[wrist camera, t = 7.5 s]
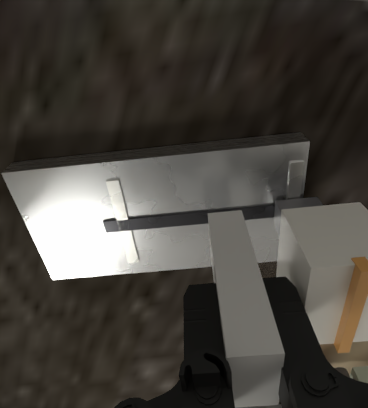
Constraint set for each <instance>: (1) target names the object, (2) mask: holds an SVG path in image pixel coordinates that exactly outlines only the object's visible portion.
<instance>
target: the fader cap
mask: <svg viewBox="0 0 368 408" xmlns="http://www.w3.org/2000/svg"><path fill="white" fill-rule="evenodd" d="M274 226H275V228H276V231H277V233H278V235H279V247H278V259H277V272H276V277H287V278H288V279H289V280H290V282H291V283H292V284H293V285H294V286H295V287H296V288H297V291H298V293H299V296H300V298H301V302H302V303H303V305H304V308H305V310H306V313H307V315H308V317H309V320H310V322H311V325H312V327H313V330H314V332H315V334H316V337H317V339H318V342H319V344H320V345H321V344H334V346H335V348H336V350H337V353H349V351H350V348H351V345H352V342H363V341H368V210H367V209H366V208H365V207H364V206H363V205H362V204H361V202H356V203H346V204H335V205H324V206H323V204H322V203H321V201H320V200H319V199H318V197H310V198H300V199H289V200H278V201H275V211H274Z"/></svg>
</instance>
